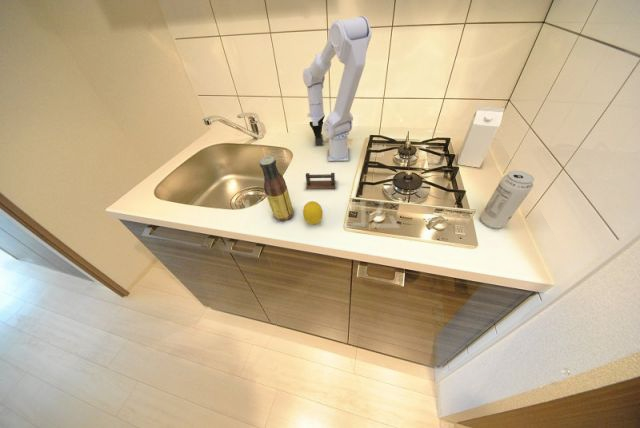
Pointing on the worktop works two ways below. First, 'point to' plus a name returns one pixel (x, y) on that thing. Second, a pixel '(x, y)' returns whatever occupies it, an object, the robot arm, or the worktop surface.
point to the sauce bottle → (276, 189)
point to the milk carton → (480, 136)
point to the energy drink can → (507, 198)
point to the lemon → (312, 212)
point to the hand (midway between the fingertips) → (318, 135)
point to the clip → (319, 140)
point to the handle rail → (320, 183)
